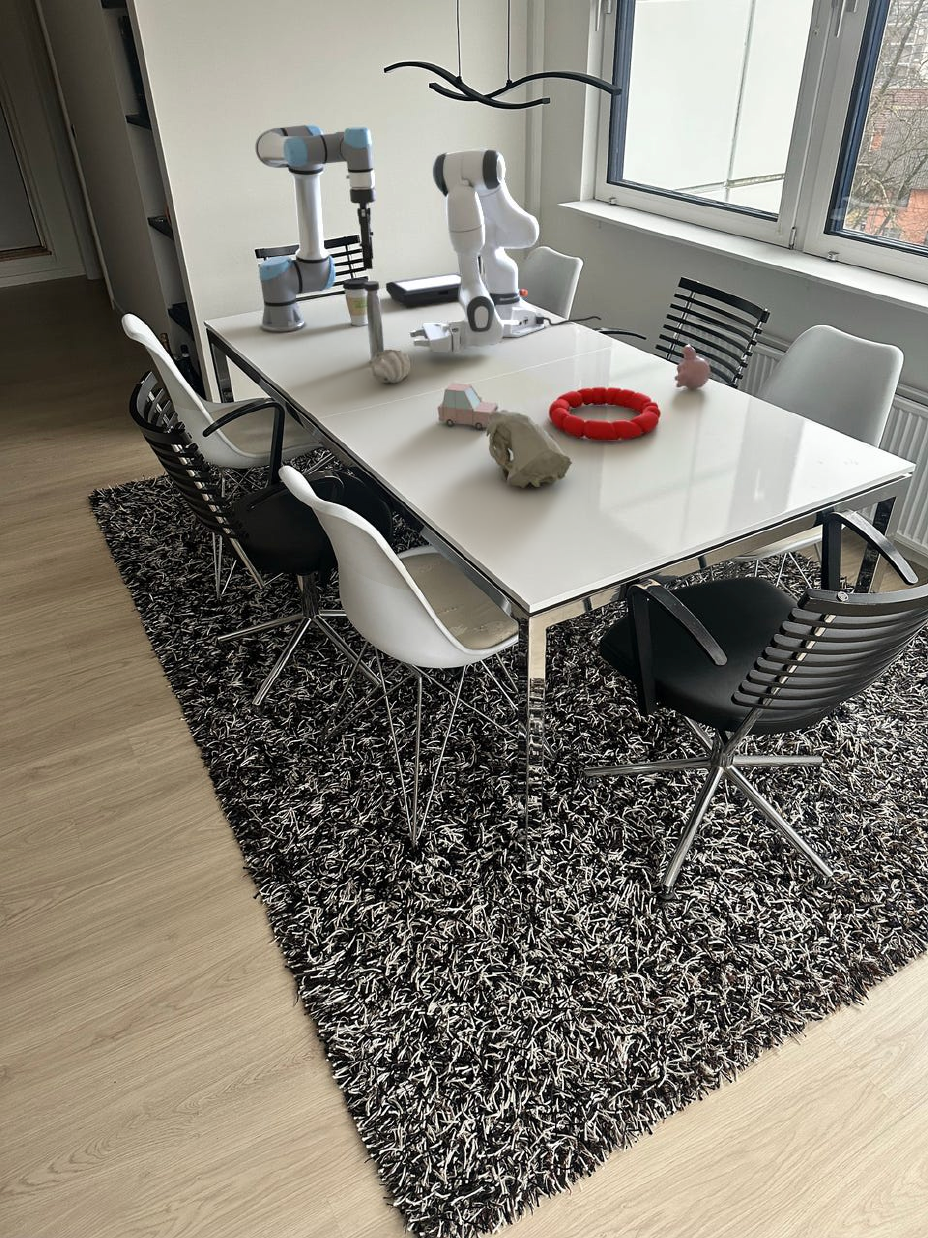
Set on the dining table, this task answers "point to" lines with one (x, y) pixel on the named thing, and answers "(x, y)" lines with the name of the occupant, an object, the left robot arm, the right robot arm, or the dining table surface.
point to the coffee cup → (356, 300)
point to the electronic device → (425, 290)
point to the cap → (371, 286)
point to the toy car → (465, 406)
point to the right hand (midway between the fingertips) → (412, 338)
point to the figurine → (692, 370)
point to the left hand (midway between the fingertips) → (368, 263)
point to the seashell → (390, 366)
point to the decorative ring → (604, 428)
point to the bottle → (374, 323)
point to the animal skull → (525, 450)
